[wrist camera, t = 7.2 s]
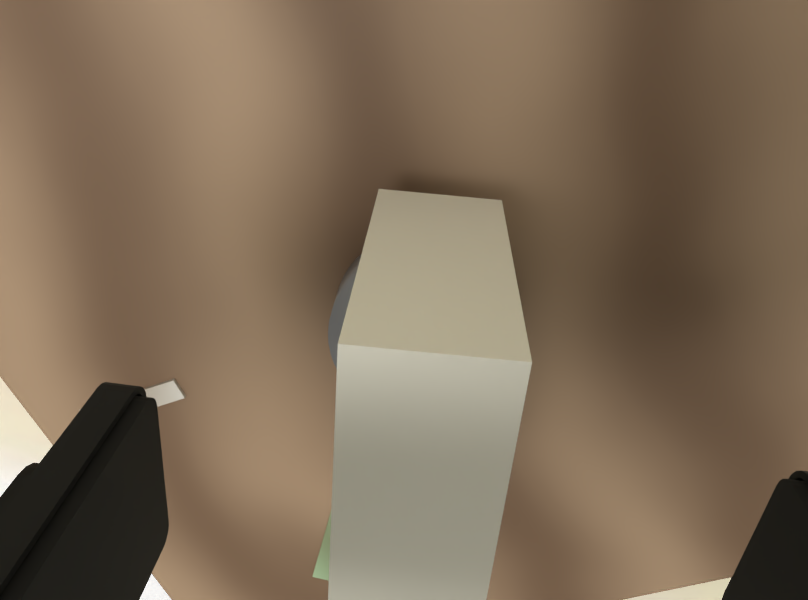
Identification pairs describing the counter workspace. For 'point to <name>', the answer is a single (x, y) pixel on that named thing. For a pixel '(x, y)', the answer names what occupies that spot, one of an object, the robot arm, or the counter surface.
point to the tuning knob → (425, 400)
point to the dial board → (344, 240)
